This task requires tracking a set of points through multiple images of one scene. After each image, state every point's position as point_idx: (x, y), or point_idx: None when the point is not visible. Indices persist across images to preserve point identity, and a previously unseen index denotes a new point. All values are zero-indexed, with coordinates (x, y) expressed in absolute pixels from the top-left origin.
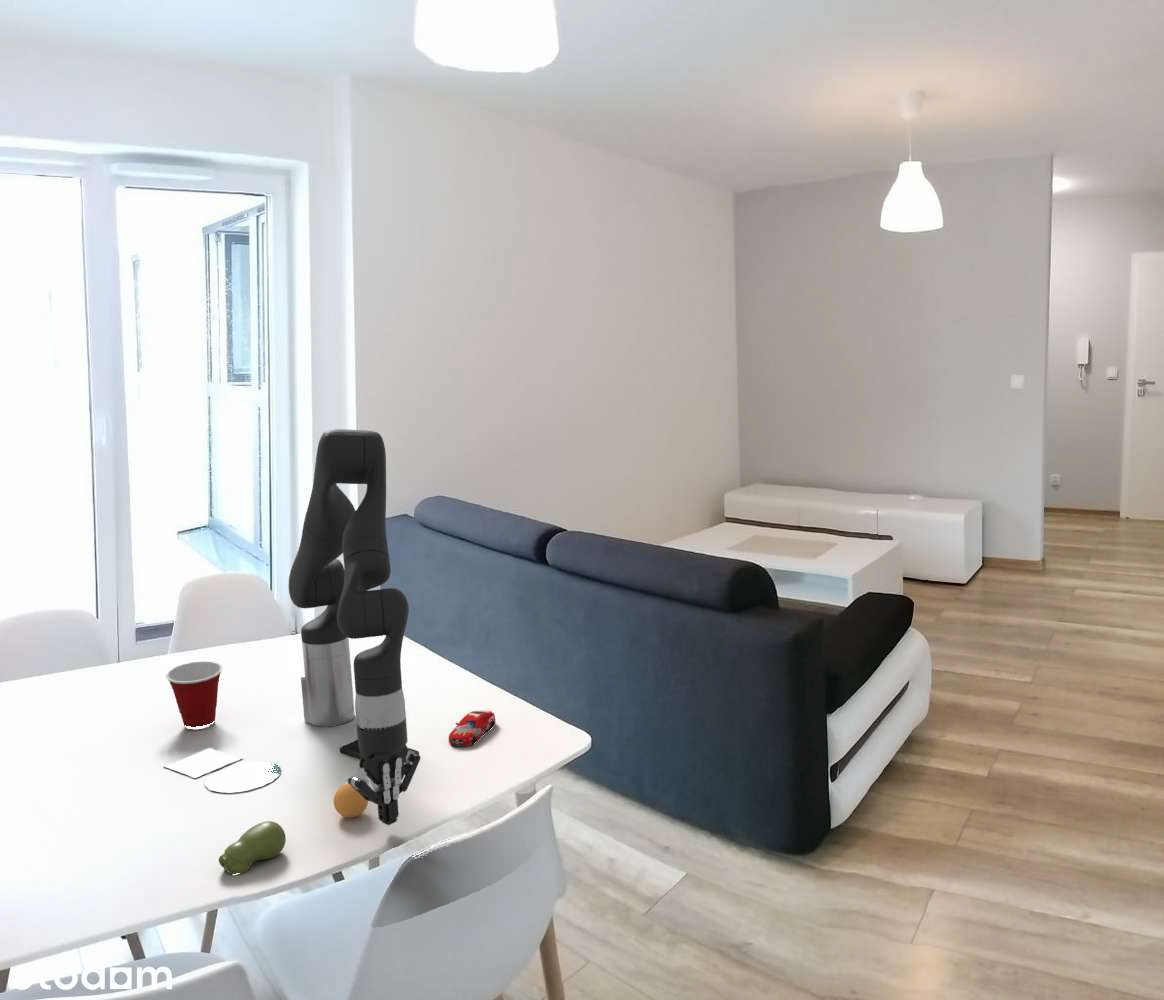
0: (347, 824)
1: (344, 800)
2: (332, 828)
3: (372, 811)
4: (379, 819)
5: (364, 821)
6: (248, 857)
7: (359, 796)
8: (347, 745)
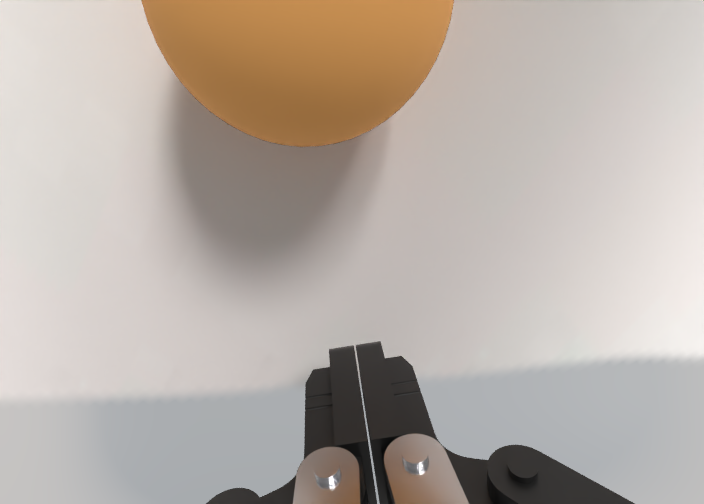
0: None
1: (189, 84)
2: (126, 75)
3: None
4: (310, 375)
5: None
6: None
7: (320, 138)
8: None
